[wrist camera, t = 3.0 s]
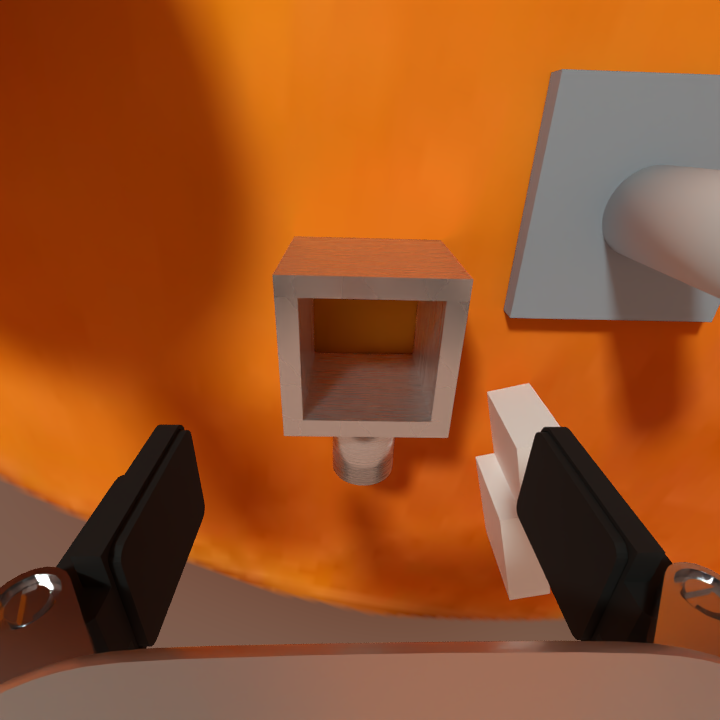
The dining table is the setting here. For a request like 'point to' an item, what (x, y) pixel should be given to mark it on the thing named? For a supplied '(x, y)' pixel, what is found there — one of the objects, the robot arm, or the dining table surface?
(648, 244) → the flange
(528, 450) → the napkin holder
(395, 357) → the collar
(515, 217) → the dining table surface
